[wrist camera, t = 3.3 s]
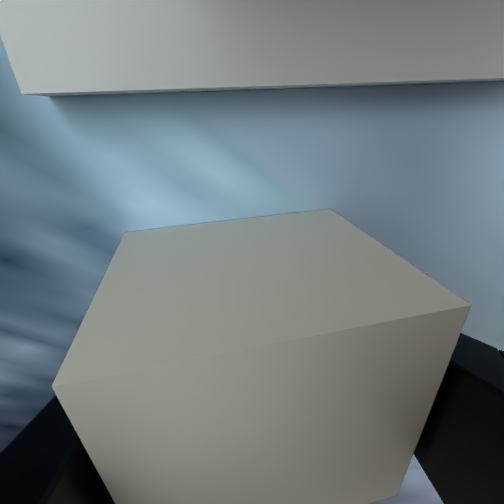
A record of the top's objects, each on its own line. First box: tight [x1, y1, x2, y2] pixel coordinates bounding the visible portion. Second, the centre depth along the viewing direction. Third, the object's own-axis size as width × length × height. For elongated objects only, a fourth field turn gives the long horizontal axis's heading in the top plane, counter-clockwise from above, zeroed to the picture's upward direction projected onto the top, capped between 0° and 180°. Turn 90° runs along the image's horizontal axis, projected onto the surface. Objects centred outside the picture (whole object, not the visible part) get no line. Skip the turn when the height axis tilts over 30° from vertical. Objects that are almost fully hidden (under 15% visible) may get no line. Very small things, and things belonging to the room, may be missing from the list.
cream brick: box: [51, 209, 471, 504], centre depth 7 cm, size 6×6×4 cm
